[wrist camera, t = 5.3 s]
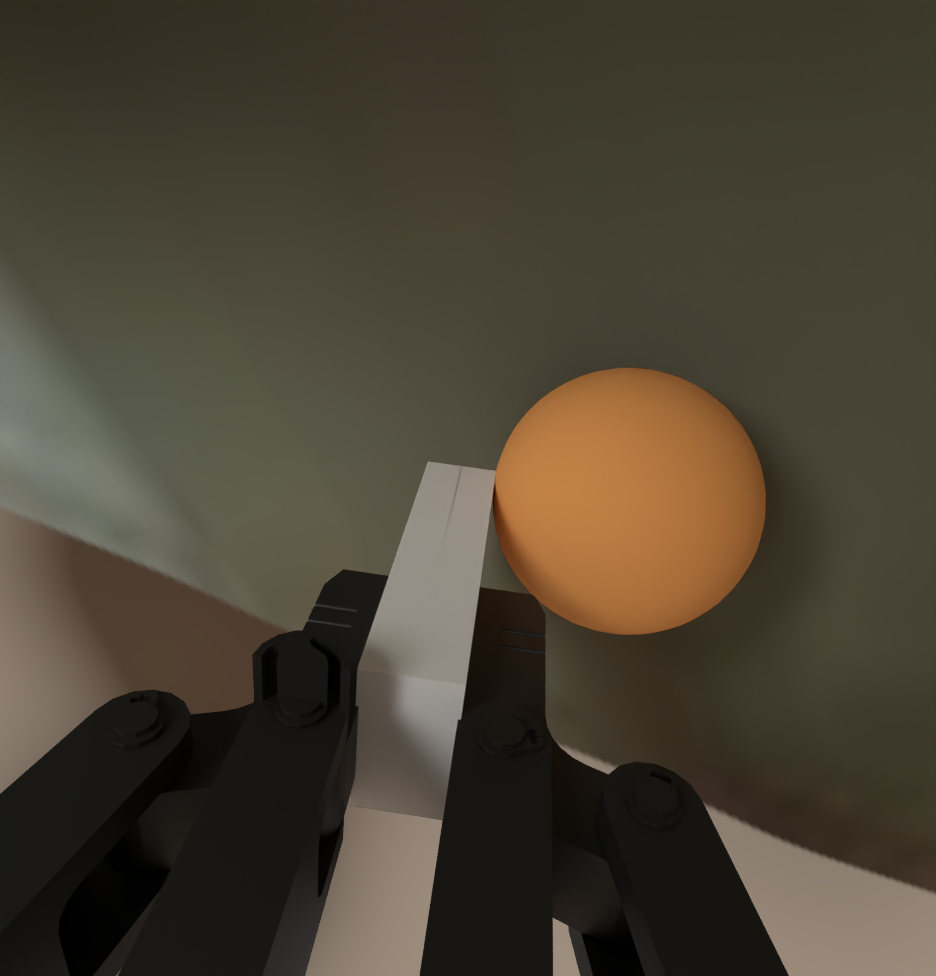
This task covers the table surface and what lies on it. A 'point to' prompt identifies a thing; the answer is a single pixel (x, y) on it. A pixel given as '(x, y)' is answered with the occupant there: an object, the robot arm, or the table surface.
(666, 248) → the table surface
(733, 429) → the ball
